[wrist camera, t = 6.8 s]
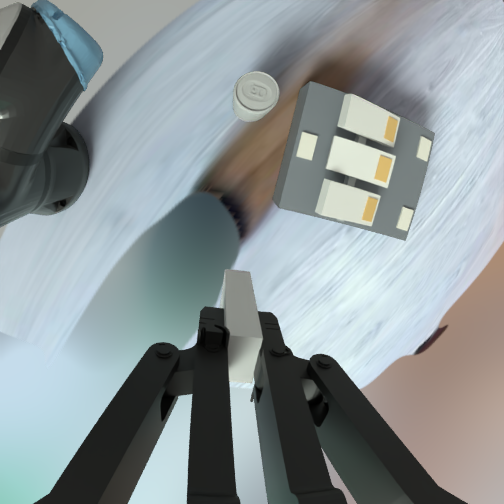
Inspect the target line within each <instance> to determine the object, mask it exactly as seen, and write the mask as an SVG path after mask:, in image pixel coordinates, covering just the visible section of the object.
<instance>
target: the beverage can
mask: <svg viewBox="0 0 504 504" xmlns="http://www.w3.org/2000/svg"><path fill="white" fill-rule="evenodd" d="M278 99H279V87H278V84H277V82H276V81H275V79H274V78H273V77H271V76H270V75H269V74H267V73H264V72H260V71H253V72H249V73H247V74H245V75H243V76H241V77H240V78H239V79H238V80H237V82H236V84H235V86H234V90H233V110H234V113H235V114H236V116H237V117H238V118H239V119H241V120H243V121H246V122H254V121H258V120H260V119H262V118H263V117H264V116H265V115H266V114H267V113H268V112H269V111H270V110H271V109H272V108H273V107H274V106H275V105H276V103H277V102H278Z"/></svg>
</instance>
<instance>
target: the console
mask: <svg viewBox="0 0 504 504" xmlns="http://www.w3.org/2000/svg"><path fill="white" fill-rule="evenodd" d="M346 94H347V93H344V92H342V91H339V90H336V89H333V88H330V87H327V86H324V85H321V84H318V83H315V82H312V81H310V82H309V83H307V84H306V85H305V86H303V87H302V88H301V89H300V91H299V95H298V100H297V104H296V108H295V112H294V116H293V120H292V124H291V128H290V132H289V136H288V140H287V144H286V148H285V152H284V156H283V160H282V164H281V168H280V172H279V176H278V180H277V184H276V188H275V192H274V196H273V201H274V202H275V204H276V205H277V206H278V208H281V209H285V210H289V211H294V212H298V213H302V214H306V215H310V216H314V217H318V218H323V219H327V220H330V221H334V222H338V223H342V224H346V225H350V226H354V227H357V228H361V229H365V230H369V231H372V232H376V233H380V234H383V235H387V236H390V237H394V238H397V239H401V240H404V241H406V238H407V235H408V232H409V229H410V226H411V223H412V220H413V217H414V213H415V210H416V207H417V203H418V200H419V197H420V193H421V190H422V186H423V182H424V178H425V175H426V171H427V167H428V162H429V158H430V154H431V150H432V145H433V140H434V135H435V133H433V132H432V131H430V130H428V129H426V128H424V127H422V126H420V125H418V124H416V123H414V122H412V121H410V120H408V119H406V118H404V117H402V116H400V115H397V114H395V113H393V112H391V111H389V110H386V109H385V110H386V111H388V112H390V113H392V114H394V115H396V116H398V117H399V118H400V122H399V126H398V131H397V135H396V140H395V144H394V148H393V147H387V146H384V145H382V144H380V143H377V142H375V141H373V140H370V139H368V138H366V137H363V136H361V135H358V134H356V133H353V132H351V131H348V130H346V129H343V128H341V127H338V121H339V117H340V113H341V109H342V104H343V100H344V96H345V95H346ZM381 108H382V107H381ZM383 109H384V108H383ZM333 136H338V137H341V138H344V139H348V140H351V141H354V142H357V143H360V144H363V145H366V146H369V147H372V148H375V149H378V150H380V151H383V152H386V153H389V154H391V155H394V156H396V158H395V162H394V166H393V170H392V174H391V177H390V181H389V185H388V188H385V187H382V186H379V185H376V184H373V183H370V182H367V181H364V180H361V179H358V178H355V177H352V176H348V175H345V174H342V173H339V172H335V171H332V170H329V169H325V167H326V163H327V159H328V155H329V151H330V148H331V144H332V140H333ZM324 178H325V179H328V180H332V181H335V182H339V183H342V184H345V185H349V186H352V187H355V188H359V189H362V190H365V191H368V192H371V193H374V194H377V195H380V196H381V197H380V201H379V204H378V207H377V211H376V214H375V217H374V220H373V224H372V227H371V226H367V225H363V224H358V223H354V222H349V221H345V220H340V219H336V218H331V217H327V216H322V215H320V214H318V213H316V212H315V210H316V206H317V203H318V199H319V195H320V192H321V188H322V184H323V181H324Z"/></svg>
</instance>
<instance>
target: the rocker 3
mask: <svg viewBox="0 0 504 504" xmlns="http://www.w3.org/2000/svg"><path fill="white" fill-rule="evenodd" d="M380 197H381V196H380V195H377V194H374V193H371V192H368V191H365V190H362V189H359V188H355V187H352V186H349V185H345V184H342V183H339V182H335V181H332V180H328V179H325V178H324V181H323V184H322V188H321V192H320V195H319V199H318V203H317V206H316V210H315V212H316V213H318V214H320V215H322V216H327V217H331V218H336V219H340V220H345V221H349V222H354V223H358V224H363V225H367V226H371V227H372V224H373V220H374V217H375V214H376V211H377V207H378V204H379V201H380Z"/></svg>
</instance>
